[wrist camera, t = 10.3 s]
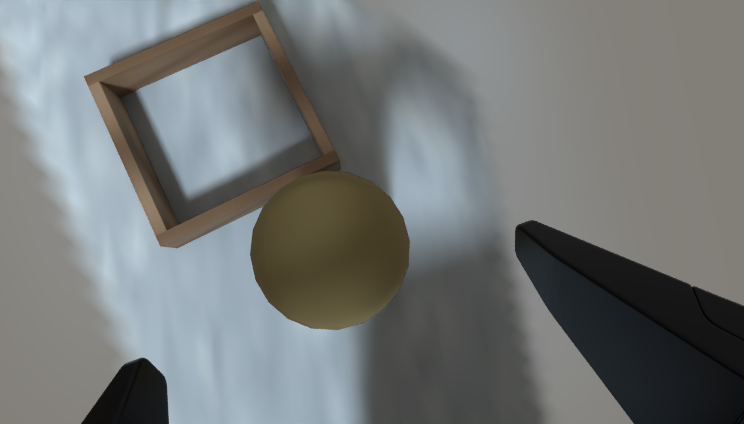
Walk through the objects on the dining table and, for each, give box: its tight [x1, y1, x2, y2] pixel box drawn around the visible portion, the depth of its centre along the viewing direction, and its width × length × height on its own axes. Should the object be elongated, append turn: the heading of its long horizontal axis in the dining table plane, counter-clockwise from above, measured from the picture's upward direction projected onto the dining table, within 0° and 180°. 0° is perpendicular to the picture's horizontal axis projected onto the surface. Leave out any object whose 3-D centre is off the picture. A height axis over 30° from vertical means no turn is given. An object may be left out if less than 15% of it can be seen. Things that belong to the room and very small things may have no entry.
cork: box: [250, 171, 410, 330], centre depth 17 cm, size 6×6×11 cm
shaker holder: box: [84, 2, 341, 248], centre depth 23 cm, size 10×10×2 cm
